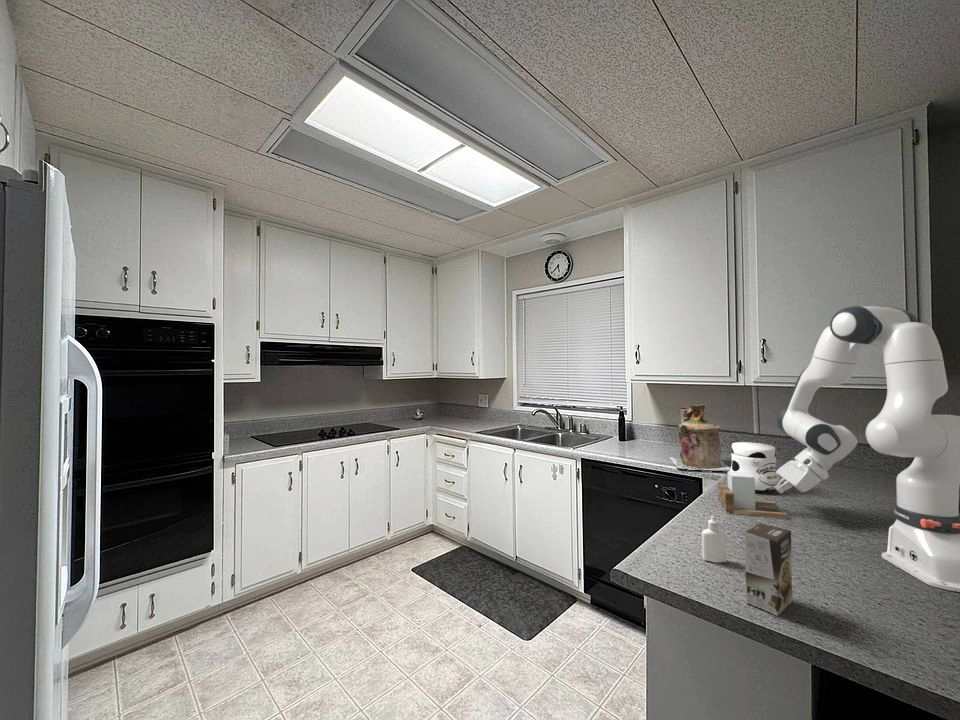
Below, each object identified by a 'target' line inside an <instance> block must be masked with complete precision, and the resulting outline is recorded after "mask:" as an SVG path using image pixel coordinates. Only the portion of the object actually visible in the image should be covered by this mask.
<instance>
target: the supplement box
mask: <svg viewBox="0 0 960 720" xmlns="http://www.w3.org/2000/svg"><path fill="white" fill-rule="evenodd" d="M727 486H728V487H729V489H730V490H731V491H732V493H733V494H734V508H735V509H746V510H756V506H755V500H756V492H755V478H754V477H753V476H752V475H751V474H750V473H748V472H732V471H728V472H727Z"/></svg>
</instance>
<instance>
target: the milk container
mask: <svg viewBox="0 0 960 720" xmlns="http://www.w3.org/2000/svg"><path fill="white" fill-rule="evenodd" d="M776 451H777V450H776V447H775V446H773V445H771V444H766V443H761V442H751V441H740V442H733V443H731V466H730V468H731V469H730V471H732V472H748V473H750V474H751V475H752V476H753V477H754V478H755V493H756V492H757V493H769V492H775V491H777V490H776V489H775V486H777V485H778V483H779V482H780V476H779V475H778V474H777V473H776V471H777V470H778V469H777V453H776Z"/></svg>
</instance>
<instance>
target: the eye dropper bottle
mask: <svg viewBox="0 0 960 720" xmlns="http://www.w3.org/2000/svg"><path fill="white" fill-rule="evenodd" d="M726 538H727V537H726V534H725V533H724V531H722V530H720V529H719V521H718V520H716V517H715V516H714V515H711V517H710V519H709V520H707V528H705V529H703V530H702V531H701V556H702V557H703V558H702V559H703V560H704V559H705V560H708V561H715V562H725V561H726V562H727V542H726V541H727V539H726ZM705 560H704V561H705ZM726 562H725V563H726Z"/></svg>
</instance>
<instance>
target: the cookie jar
mask: <svg viewBox="0 0 960 720" xmlns="http://www.w3.org/2000/svg"><path fill="white" fill-rule="evenodd" d="M705 409H706V406H705V404H703V403H702V404H700V405H697V404H692V405H691V406H690V407H689V408H685V409H684V411H683V412H684V415H685V416H686V419H685V420H686V421H683V422H682V423H680V424H679V425H678V440H679V444H680V446H681V450H680V454H679V456H680V459H681V460H682V463H683V464H684V465H687V466H691V467H697V468H705V469H704V470H715V471H730V469H731V466H728V465H727V464H725V462H723V460H721V457H722V448H721V446H722V445H721V441H720V435H719V434H720V433H719V431H720V430H721V427H720V425H716V424H712V423H710V422H709V421H708V420H706V419H704V415H705ZM669 459H670V461H671V462H672V463H673V465H674V464H675V465H676V463H677V460H676V459H675V457H669ZM678 462H679V461H678ZM677 464H678V463H677ZM675 465H674V466H675ZM676 466H677V465H676ZM676 466H675V467H676ZM677 467H678V469H681V470H685V469H689V470H694V469H691V468H687V467H682V466H677ZM677 467H676V468H677Z"/></svg>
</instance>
